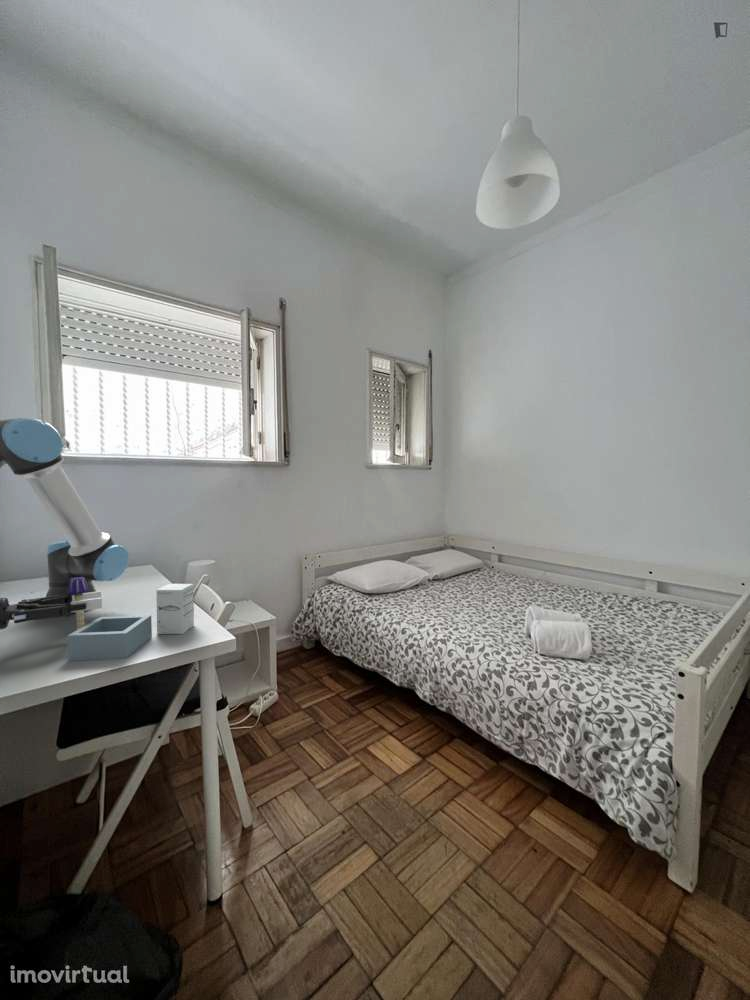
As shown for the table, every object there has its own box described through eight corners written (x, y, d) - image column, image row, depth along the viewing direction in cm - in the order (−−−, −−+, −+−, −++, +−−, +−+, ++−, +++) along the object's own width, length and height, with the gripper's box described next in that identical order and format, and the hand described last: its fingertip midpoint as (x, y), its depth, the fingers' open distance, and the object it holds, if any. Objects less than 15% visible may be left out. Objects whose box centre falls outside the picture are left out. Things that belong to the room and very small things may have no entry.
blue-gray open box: (100, 639, 104) (100, 617, 104) (151, 636, 106) (151, 615, 106) (68, 660, 91) (67, 635, 91) (126, 657, 93) (126, 633, 93)
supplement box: (155, 634, 107) (154, 589, 107) (170, 625, 115) (169, 582, 114) (182, 634, 107) (181, 589, 107) (195, 625, 115) (194, 582, 114)
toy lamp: (70, 644, 101) (68, 580, 100) (67, 639, 104) (65, 578, 104) (92, 639, 104) (91, 577, 104) (88, 634, 108) (87, 574, 107)
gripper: (-6, 619, 102) (101, 603, 115) (-25, 644, 85) (102, 623, 99) (-7, 591, 101) (100, 578, 115) (-26, 611, 85) (101, 593, 99)
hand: (101, 599), depth 107 cm, fingers open, 7 cm apart
